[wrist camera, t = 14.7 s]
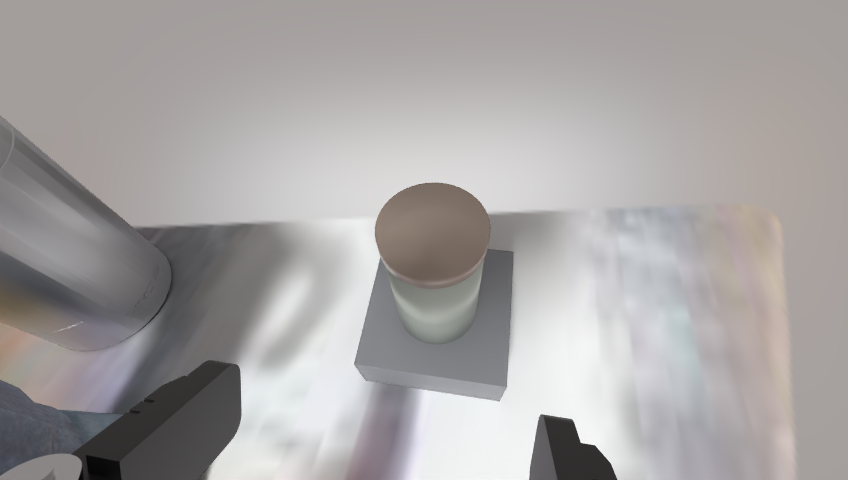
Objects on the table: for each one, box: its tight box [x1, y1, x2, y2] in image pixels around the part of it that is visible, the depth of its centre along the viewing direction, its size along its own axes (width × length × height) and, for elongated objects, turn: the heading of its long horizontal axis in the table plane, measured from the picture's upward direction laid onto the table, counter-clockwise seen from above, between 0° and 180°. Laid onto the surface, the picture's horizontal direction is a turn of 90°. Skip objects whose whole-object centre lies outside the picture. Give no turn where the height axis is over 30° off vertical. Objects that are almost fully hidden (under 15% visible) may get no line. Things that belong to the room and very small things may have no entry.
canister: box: [375, 183, 490, 344], centre depth 22 cm, size 5×5×9 cm
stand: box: [354, 249, 513, 401], centre depth 28 cm, size 9×9×4 cm
